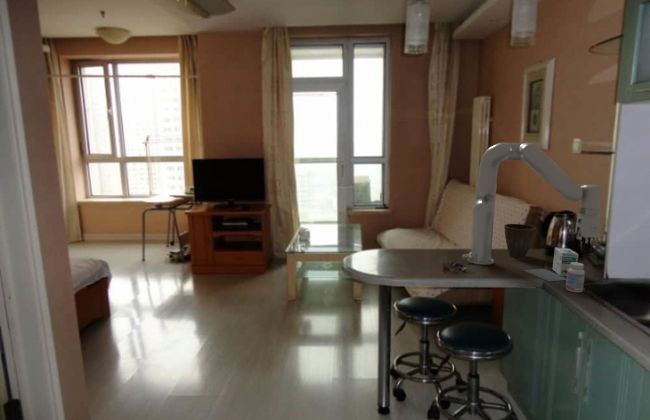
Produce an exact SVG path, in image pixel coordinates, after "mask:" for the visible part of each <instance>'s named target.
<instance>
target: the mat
mask: <svg viewBox="0 0 650 420" xmlns="http://www.w3.org/2000/svg"><path fill="white" fill-rule="evenodd" d="M522 271H523V272H525V273H527V274H530V275H532V276H534V277H536V278H539V279H542V281H543V280H544V281H546V282H547V283H550V282H561V281H563V282H564V281H565V282H566V279H567V277H566V276H560V275H558V274H557V273H556V272H553V271H550V270H548V269H546V268H536V269H535V268H534V269H523V270H522Z"/></svg>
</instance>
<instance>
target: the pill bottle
mask: <svg viewBox="0 0 650 420" xmlns="http://www.w3.org/2000/svg"><path fill="white" fill-rule="evenodd" d="M570 267H571V268H569V269H568V270H567V276H566V278H567V279H566V280H565V289H566V290H567V291H569V292H571V293H582V292H583V291H584V284H585V275H586V273H585V272H586V271H585V270H584V267H585V264H583V263H581V262H571V263H570Z"/></svg>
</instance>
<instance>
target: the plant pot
mask: <svg viewBox="0 0 650 420" xmlns="http://www.w3.org/2000/svg"><path fill="white" fill-rule="evenodd" d="M503 227H504V228H503V229H504V237H505V243H506V247H507V251H508V252H507V253H508V254H509V256H510V257H512V258H517V259H518V258H519V259H523V258H525V257H526V256H527V254H528V252H529V250H530V247H531V245H532V242H533V240H534V236H535V234H536V229H537V228H536V226H533V225H529V224H522V223H507V224H504V226H503Z"/></svg>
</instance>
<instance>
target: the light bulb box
mask: <svg viewBox="0 0 650 420" xmlns="http://www.w3.org/2000/svg"><path fill="white" fill-rule="evenodd" d="M553 253H554V254H553V262H552V270H553V271H554V273H555V274H558V275H560V276H563V277H567V270H568V269H569V268H571V267H570V263H571V262H578V261H579V253H577V252H576V251H574V250H572V249H571V248H564V247H554V252H553ZM578 263H579V262H578Z"/></svg>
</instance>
